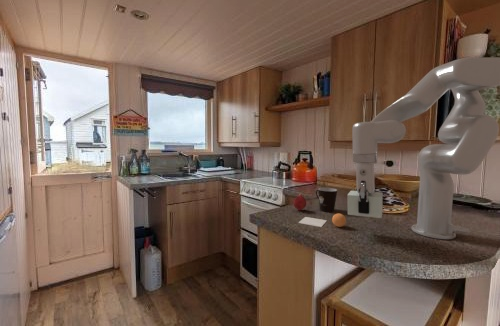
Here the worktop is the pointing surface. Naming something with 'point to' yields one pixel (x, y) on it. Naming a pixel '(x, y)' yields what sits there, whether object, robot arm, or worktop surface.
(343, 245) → the worktop surface
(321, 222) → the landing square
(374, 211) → the pale sage box
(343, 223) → the ball
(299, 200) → the onion
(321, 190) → the coffee mug
